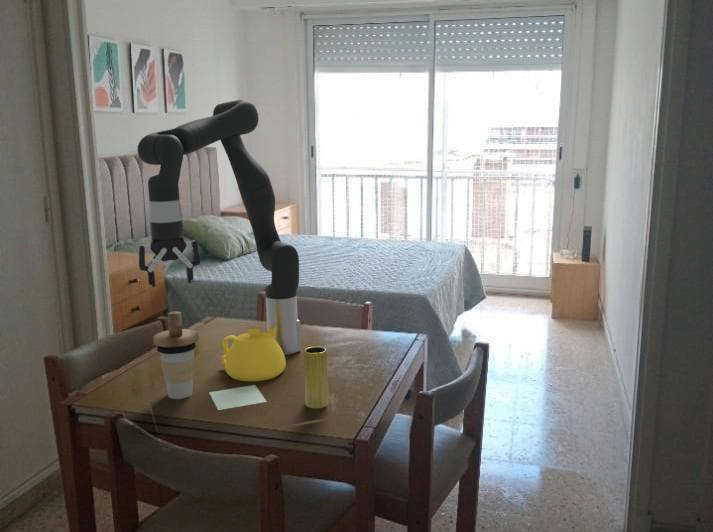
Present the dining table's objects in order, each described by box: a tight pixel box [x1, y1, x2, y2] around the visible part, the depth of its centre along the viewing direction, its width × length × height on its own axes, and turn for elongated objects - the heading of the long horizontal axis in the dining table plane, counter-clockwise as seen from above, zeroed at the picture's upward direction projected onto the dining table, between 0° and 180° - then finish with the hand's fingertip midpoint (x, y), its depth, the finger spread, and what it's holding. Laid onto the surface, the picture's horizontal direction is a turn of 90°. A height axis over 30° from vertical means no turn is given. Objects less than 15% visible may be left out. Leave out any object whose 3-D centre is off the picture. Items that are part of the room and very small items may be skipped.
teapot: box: [220, 327, 286, 382], centre depth 190 cm, size 20×19×13 cm
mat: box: [208, 384, 268, 411], centre depth 172 cm, size 12×12×1 cm
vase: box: [303, 345, 330, 409], centre depth 165 cm, size 6×6×14 cm
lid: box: [152, 311, 200, 347], centre depth 170 cm, size 11×11×7 cm
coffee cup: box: [156, 342, 197, 400], centre depth 173 cm, size 9×9×15 cm
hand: (171, 284), depth 168 cm, fingers open, 8 cm apart
